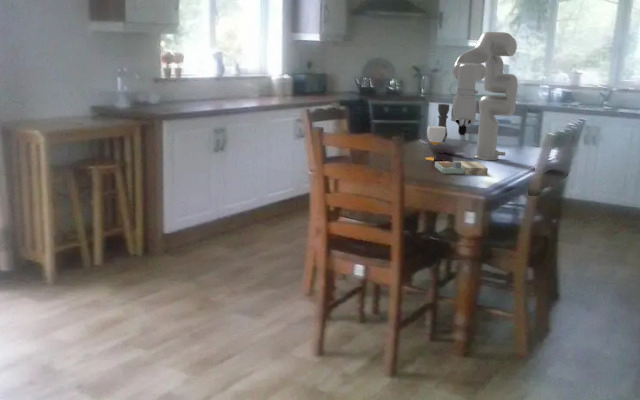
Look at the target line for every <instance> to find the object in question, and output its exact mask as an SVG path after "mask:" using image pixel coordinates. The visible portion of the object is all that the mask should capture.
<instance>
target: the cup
mask: <svg viewBox="0 0 640 400" xmlns="http://www.w3.org/2000/svg"><path fill="white" fill-rule="evenodd" d="M446 128H447V127H446ZM446 128H445V127H442V126H438V125H428V126H427V130H426V133H427V134H426V135H427V140H428V141H429V142H430V143H431V144H432V145H433V146H434V145H437V144H440V143H441V142H442V141H443V139H444V137H445V133H446ZM424 159H425V160H427V161H431V162H435V161H434V156H433V157H431V156H430V157H425V158H424Z"/></svg>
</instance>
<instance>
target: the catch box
mask: <svg viewBox="0 0 640 400" xmlns="http://www.w3.org/2000/svg"><path fill="white" fill-rule="evenodd" d="M438 162H439V161H434V168H435V169H436V170H438V171H439V172H440V173H441V174H443V175H465V174H464V168H462V167H461V168H453V161H449V162H450V163H451V165H450V168H443V167H442V166H441V165H440V164H439V163H438Z"/></svg>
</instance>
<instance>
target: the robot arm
mask: <svg viewBox="0 0 640 400" xmlns="http://www.w3.org/2000/svg"><path fill="white" fill-rule="evenodd" d="M517 46H518V45H517V41H516V39H515V38H514V37H513V36H512V35H511V34H510V33H509V32H504V31H503V32H501V31H498V32H497V31H486V32H483V33H482V34H481V35H480V37H479V38H478V40H477V42H476V43H475V46H474V47H473V48H472V49H470V50H467V51H465V52H464V53H462V54H460V55H459V56H458V58H457V60H456V61H455V63H454V65H453V67H452V76H453V78H455V80H457V87H456V95H454V97H453V100H452V106H451V111H450V112H451V113H450V116H451V118H450V121H452V122H454V123H456V124H457V125H458V134H459V135H460V136H465V135H466V134H467V127H468V125H470V124H471V123H475V122H476V116H477V97H476V96H475V95H476V94H478V92H479V90H476V82H479V81H482V80H483V79H484V80H483V88H484V91H486V92H487V93H494V94H505V96H503V95H494V94H493V95H489V94H488V95H484V96H482V97H480V99H479V103H478V107H479V111H478V112H479V119H478V120H479V123H478V134H477V143H476V153H475V154H473V155H472V159H473V158H474V159H477V160H481V161H497V160H499V156H503V157H504V156H506V151H499V150H498V149H497V143H498V135H499V125H500V124H499V122H498V119H497V118H496V116H501V117H511V116H513V115H514V114H515V111H516V104H517V94H518V84H519V83H518V78H517V76H516V75H514V74H512V73H511V74H510V73H504V61H503V58H502V57H512V56H514V55H515V54H516V51H517ZM484 63H485V65H484Z"/></svg>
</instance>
